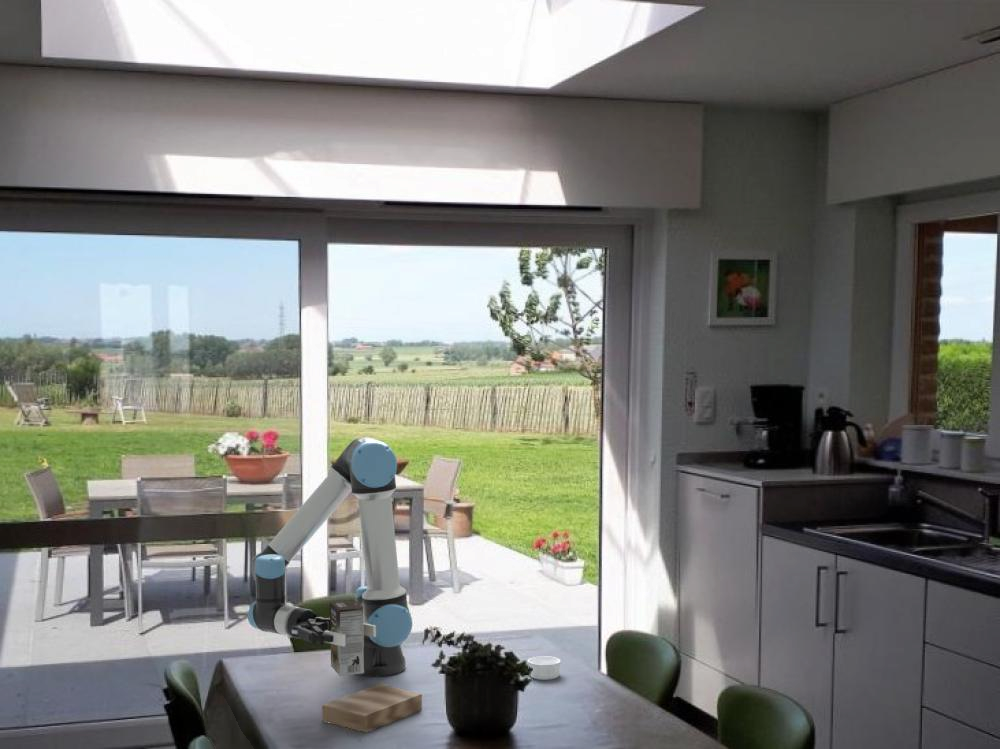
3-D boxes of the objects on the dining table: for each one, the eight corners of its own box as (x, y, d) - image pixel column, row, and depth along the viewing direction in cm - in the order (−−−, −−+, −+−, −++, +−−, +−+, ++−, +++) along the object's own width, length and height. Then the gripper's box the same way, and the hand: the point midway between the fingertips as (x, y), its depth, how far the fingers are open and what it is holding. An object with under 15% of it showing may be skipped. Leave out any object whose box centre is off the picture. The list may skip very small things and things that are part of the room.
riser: (379, 699, 301) (379, 684, 301) (421, 710, 292) (421, 694, 292) (322, 721, 285) (322, 704, 285) (365, 732, 277) (365, 715, 276)
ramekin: (526, 671, 325) (526, 656, 324) (559, 671, 325) (559, 655, 325) (528, 681, 316) (528, 665, 316) (562, 680, 316) (562, 664, 316)
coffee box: (329, 666, 292) (328, 601, 292) (355, 663, 295) (354, 598, 294) (339, 676, 284) (337, 609, 283) (365, 673, 286) (363, 606, 286)
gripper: (329, 628, 309) (392, 641, 295) (262, 646, 292) (325, 661, 278) (329, 599, 309) (391, 611, 295) (262, 616, 291) (325, 629, 277)
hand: (359, 635), depth 286 cm, fingers closed on coffee box, 9 cm apart
